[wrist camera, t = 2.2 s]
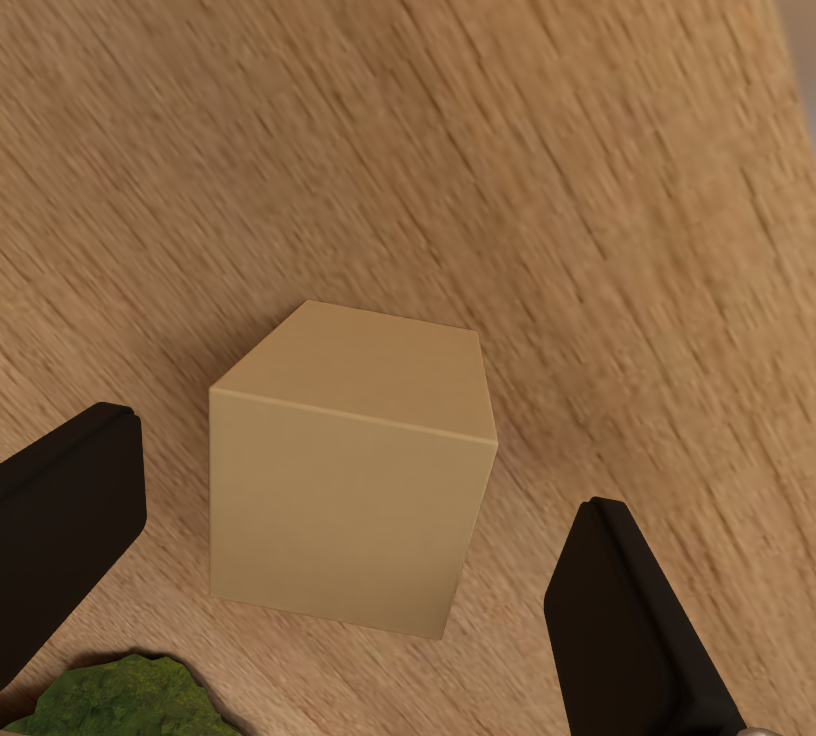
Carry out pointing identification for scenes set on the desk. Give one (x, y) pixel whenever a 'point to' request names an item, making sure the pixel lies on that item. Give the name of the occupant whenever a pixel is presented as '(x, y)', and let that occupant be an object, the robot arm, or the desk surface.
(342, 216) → the desk surface
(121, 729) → the landscape model
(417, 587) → the block
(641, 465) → the desk surface
